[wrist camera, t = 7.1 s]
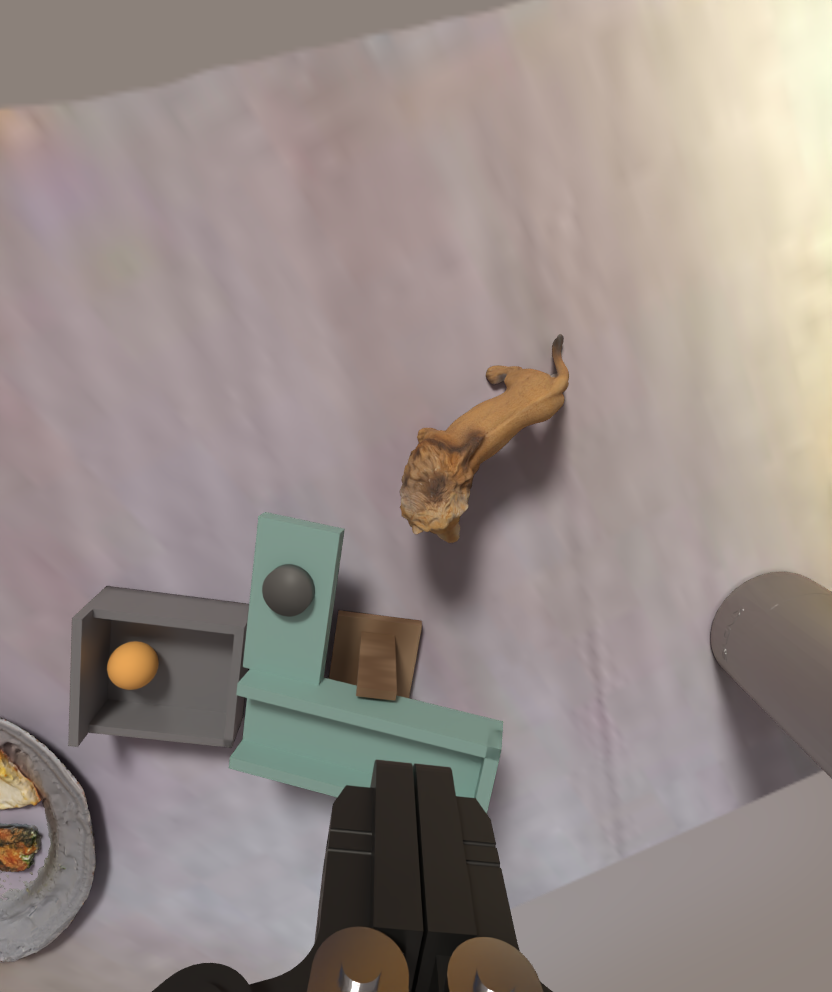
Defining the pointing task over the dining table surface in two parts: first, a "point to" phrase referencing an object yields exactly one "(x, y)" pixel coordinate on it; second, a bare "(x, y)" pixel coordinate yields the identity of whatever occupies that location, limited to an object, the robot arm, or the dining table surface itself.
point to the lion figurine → (475, 445)
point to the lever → (333, 685)
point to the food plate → (10, 847)
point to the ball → (132, 665)
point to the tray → (159, 668)
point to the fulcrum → (375, 654)
